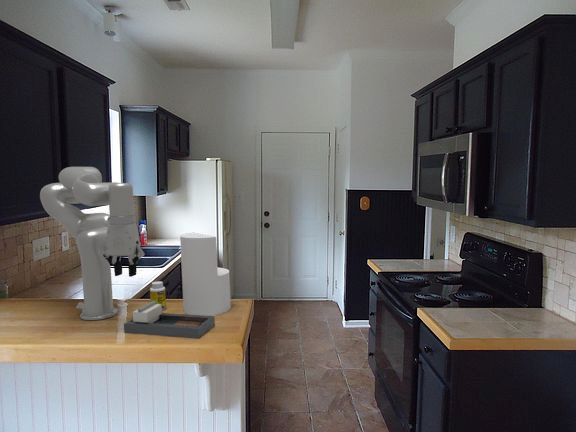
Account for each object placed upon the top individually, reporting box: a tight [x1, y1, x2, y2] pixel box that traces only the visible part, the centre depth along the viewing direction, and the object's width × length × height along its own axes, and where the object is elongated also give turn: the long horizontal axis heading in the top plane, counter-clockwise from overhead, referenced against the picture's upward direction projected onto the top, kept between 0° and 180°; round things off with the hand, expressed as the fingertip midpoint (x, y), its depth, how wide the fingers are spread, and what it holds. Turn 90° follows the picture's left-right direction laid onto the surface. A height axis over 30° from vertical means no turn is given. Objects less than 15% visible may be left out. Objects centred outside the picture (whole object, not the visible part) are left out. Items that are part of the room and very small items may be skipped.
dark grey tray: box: [123, 312, 216, 339], centre depth 140 cm, size 26×12×3 cm, turn 76°
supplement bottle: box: [149, 281, 167, 311], centre depth 161 cm, size 6×6×10 cm
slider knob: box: [132, 301, 163, 323], centre depth 142 cm, size 5×9×6 cm, turn 166°
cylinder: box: [179, 232, 232, 316], centre depth 159 cm, size 17×17×28 cm
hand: (125, 274), depth 142 cm, fingers open, 4 cm apart
